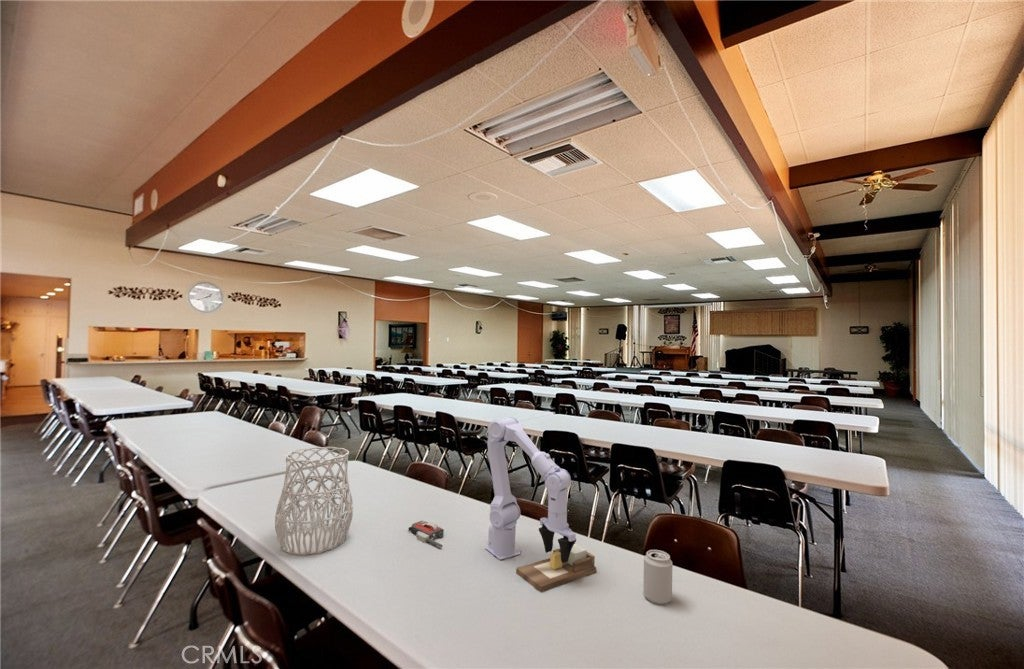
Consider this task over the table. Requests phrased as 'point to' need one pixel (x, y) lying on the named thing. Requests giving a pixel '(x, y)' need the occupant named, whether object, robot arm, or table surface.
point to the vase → (321, 536)
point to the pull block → (575, 555)
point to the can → (657, 577)
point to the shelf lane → (555, 572)
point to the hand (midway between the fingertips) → (556, 556)
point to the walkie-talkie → (427, 532)
